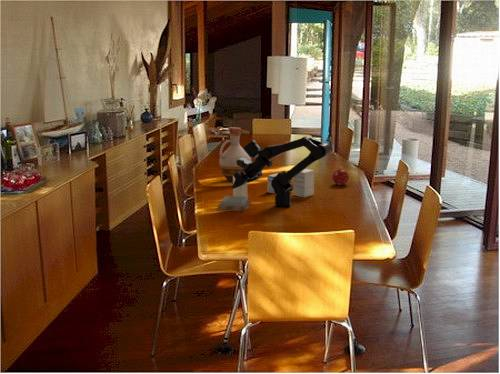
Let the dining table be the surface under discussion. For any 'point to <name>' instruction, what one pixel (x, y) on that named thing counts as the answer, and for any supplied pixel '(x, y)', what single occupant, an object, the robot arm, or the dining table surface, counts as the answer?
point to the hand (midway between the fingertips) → (237, 185)
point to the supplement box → (304, 183)
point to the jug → (232, 155)
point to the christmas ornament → (340, 176)
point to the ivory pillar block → (240, 190)
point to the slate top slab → (233, 201)
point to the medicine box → (269, 186)
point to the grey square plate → (234, 207)
